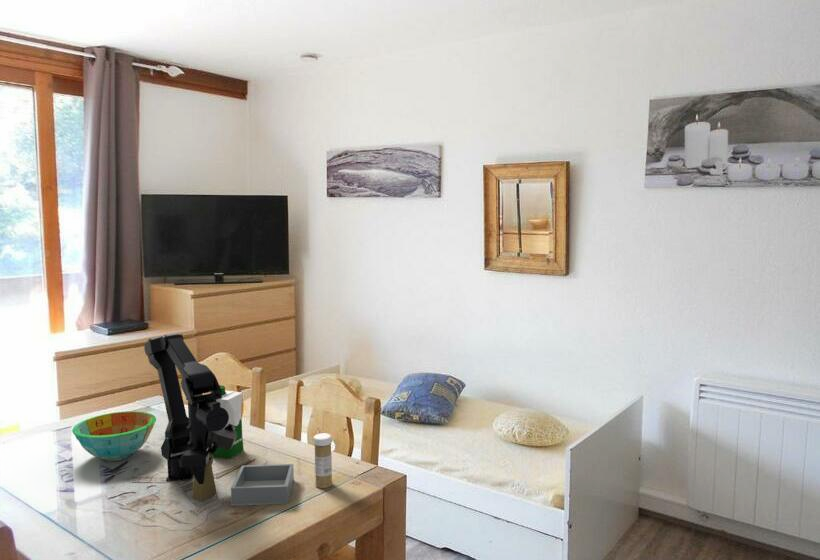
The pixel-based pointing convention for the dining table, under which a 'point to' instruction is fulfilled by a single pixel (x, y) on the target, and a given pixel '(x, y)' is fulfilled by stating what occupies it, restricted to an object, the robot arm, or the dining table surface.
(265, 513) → the dining table surface
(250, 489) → the box
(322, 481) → the sprinkles bottle
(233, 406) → the milk carton
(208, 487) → the cork
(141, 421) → the bowl
